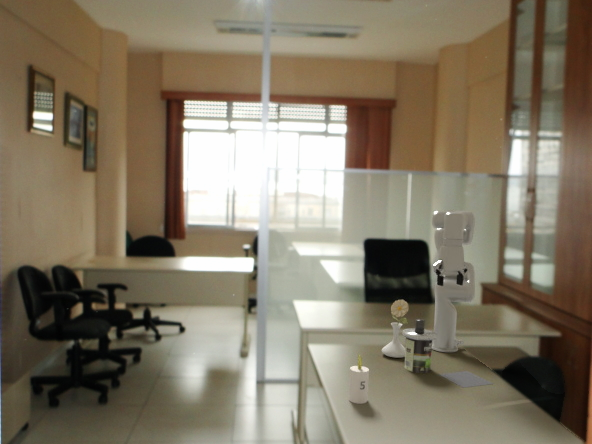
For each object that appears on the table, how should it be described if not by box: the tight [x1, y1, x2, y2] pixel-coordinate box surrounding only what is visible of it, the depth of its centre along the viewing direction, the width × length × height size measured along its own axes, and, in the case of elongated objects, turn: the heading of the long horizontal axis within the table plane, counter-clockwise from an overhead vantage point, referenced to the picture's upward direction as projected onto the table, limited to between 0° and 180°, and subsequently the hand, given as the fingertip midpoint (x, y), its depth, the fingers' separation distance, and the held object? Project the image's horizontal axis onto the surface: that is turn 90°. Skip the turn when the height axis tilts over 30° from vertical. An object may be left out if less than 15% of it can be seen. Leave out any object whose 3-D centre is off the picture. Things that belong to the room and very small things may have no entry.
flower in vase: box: [381, 299, 410, 359], centre depth 224 cm, size 13×11×25 cm
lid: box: [402, 318, 437, 341], centre depth 206 cm, size 13×13×6 cm
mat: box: [438, 370, 494, 389], centre depth 197 cm, size 14×14×1 cm
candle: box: [348, 354, 370, 404], centre depth 175 cm, size 6×6×15 cm
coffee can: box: [403, 337, 433, 374], centre depth 207 cm, size 10×10×14 cm
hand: (449, 285), depth 213 cm, fingers open, 9 cm apart
